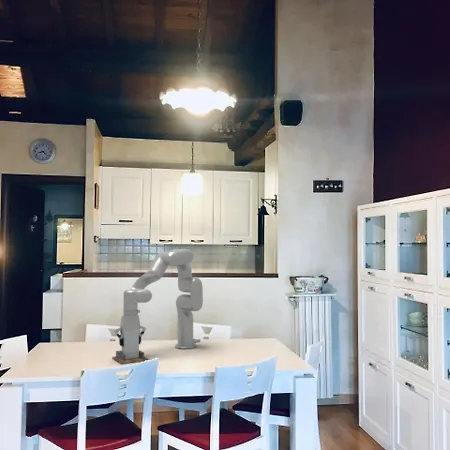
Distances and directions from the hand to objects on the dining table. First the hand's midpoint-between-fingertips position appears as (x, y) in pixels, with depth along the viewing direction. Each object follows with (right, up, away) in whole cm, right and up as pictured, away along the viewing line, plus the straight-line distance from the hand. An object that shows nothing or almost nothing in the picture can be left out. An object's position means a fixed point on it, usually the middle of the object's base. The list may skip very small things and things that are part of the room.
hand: (130, 345), depth 245 cm
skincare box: (0, -7, 0) cm, 7 cm away
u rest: (0, -8, 0) cm, 8 cm away
